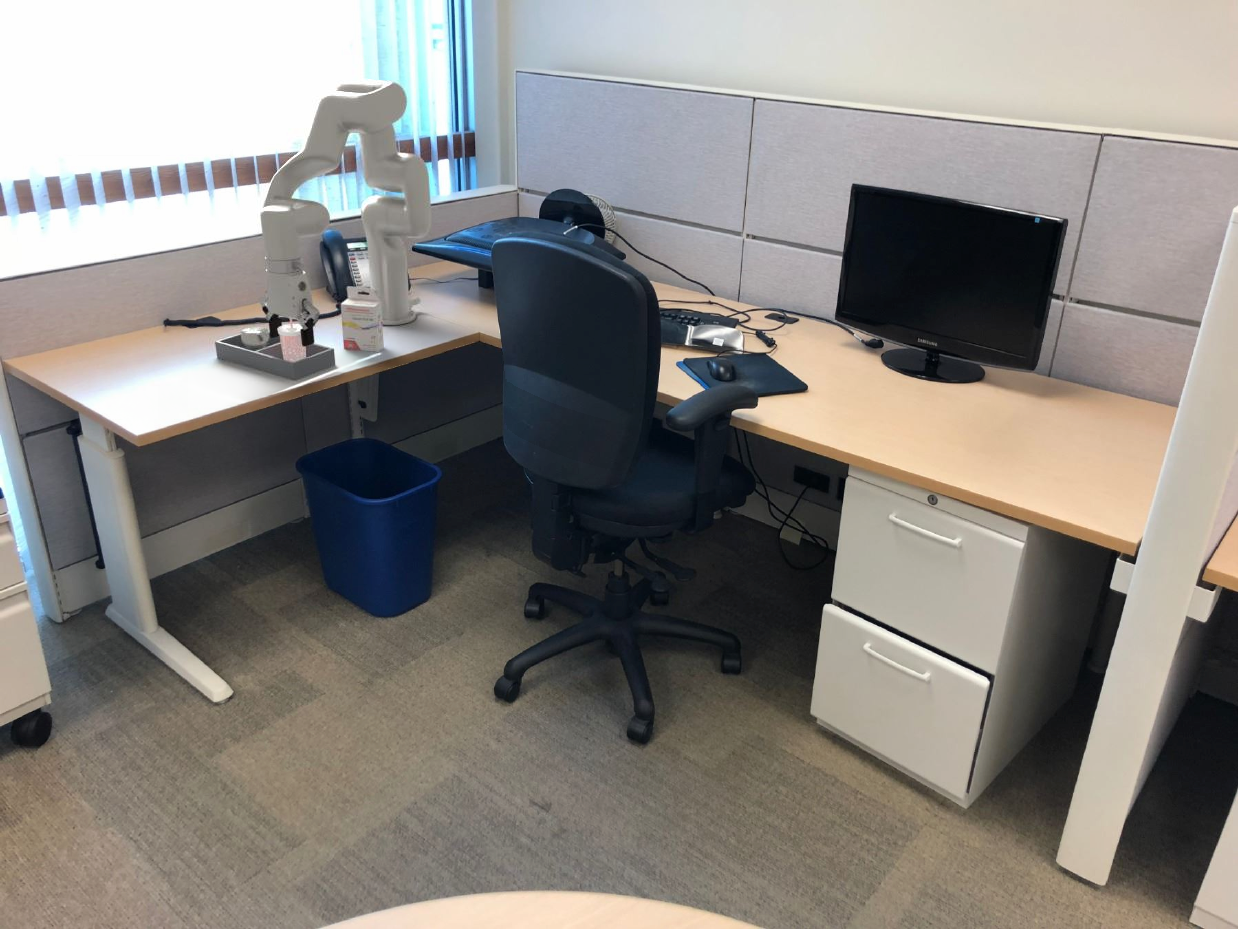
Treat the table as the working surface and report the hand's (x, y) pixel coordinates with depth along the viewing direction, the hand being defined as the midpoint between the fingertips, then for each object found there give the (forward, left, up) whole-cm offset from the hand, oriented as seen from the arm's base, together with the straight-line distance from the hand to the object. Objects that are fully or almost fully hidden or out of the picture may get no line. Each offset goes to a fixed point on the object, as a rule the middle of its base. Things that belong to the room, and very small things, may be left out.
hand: (292, 340), depth 222 cm
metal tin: (0, -12, -6) cm, 14 cm away
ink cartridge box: (-19, +3, -7) cm, 20 cm away
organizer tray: (0, -6, -7) cm, 9 cm away
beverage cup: (0, 0, -6) cm, 6 cm away
